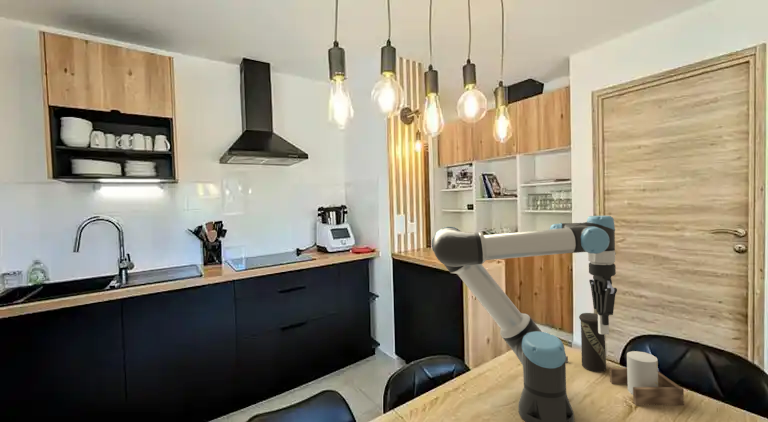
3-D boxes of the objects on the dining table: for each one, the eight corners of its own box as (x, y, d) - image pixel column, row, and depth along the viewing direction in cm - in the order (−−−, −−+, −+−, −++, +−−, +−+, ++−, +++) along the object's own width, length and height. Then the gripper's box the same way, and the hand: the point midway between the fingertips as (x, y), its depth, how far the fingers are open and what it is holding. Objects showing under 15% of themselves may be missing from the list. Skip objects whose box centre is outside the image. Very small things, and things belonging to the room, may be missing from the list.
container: (583, 371, 131) (582, 318, 130) (578, 360, 140) (576, 310, 139) (610, 373, 128) (609, 319, 128) (603, 362, 137) (601, 311, 136)
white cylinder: (664, 400, 111) (663, 362, 111) (635, 398, 112) (634, 361, 112) (649, 386, 119) (648, 351, 119) (623, 385, 120) (622, 350, 120)
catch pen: (635, 405, 109) (635, 389, 109) (610, 381, 123) (609, 367, 123) (683, 405, 108) (683, 389, 108) (652, 381, 122) (652, 367, 122)
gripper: (625, 266, 109) (627, 341, 110) (603, 258, 122) (605, 326, 123) (599, 266, 110) (601, 341, 111) (580, 259, 123) (582, 326, 124)
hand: (603, 333), depth 117 cm, fingers closed
